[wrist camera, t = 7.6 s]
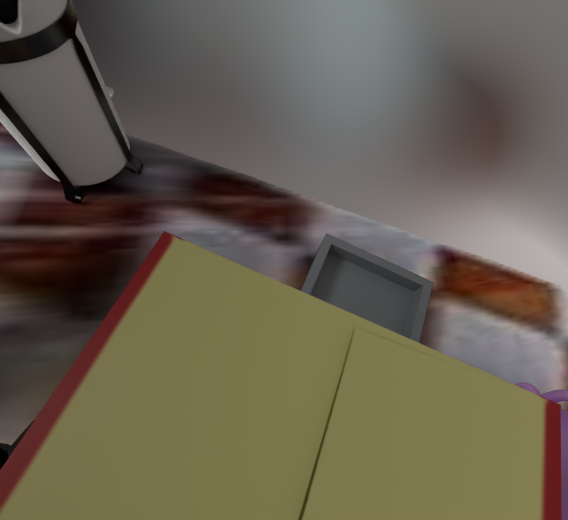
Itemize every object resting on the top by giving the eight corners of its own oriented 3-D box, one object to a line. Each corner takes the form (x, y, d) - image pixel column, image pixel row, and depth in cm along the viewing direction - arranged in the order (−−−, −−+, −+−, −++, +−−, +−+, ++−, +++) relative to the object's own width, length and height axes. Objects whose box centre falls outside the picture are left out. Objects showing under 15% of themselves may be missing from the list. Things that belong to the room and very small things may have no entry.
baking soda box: (161, 442, 18) (-126, 628, 4) (212, 340, 21) (160, 222, 7) (306, 509, 18) (597, 990, 3) (339, 397, 21) (578, 405, 6)
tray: (276, 343, 39) (279, 339, 36) (320, 244, 46) (326, 233, 42) (392, 399, 38) (406, 399, 35) (419, 290, 45) (433, 282, 42)
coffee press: (161, 134, 50) (70, -177, 23) (122, 214, 43) (-73, -91, 16) (54, 108, 49) (-173, -247, 22) (-3, 186, 42) (-433, -187, 15)
